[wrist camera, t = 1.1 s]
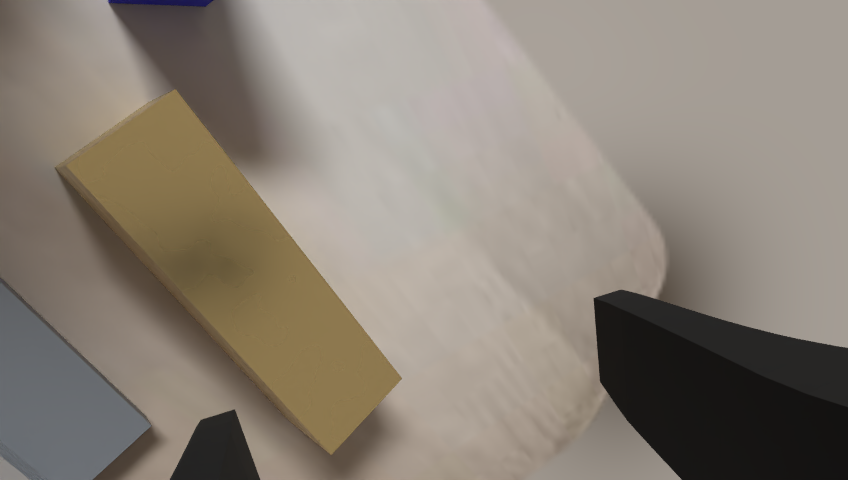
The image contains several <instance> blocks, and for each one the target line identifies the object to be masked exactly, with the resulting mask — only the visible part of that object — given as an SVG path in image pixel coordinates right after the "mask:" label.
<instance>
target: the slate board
mask: <svg viewBox="0 0 848 480" xmlns="http://www.w3.org/2000/svg"><path fill="white" fill-rule="evenodd" d="M151 426H152V425H151V424H150V422H149V421H148V419H147V417H146V416H145V415H144V414H143V413H142V412H141V411H140V410H139V409H138V408H137V407H136V406H135V405H134V404H132V403H131V402H130V401H129V400H128V399H127V398H126V397H125V396H124V395H123V394H122V393H121V392H120V391H119V390H118V389H117V388H116V387H115V386H114V385H113V384H111V383H110V382H109V381H108V380H107V379H106V378H105V377H104V376H103V375H102V374H101V373H100V372H99V371H98V370H97V369H96V368H95V367H94V366H93V365H92V364H91V363H89V362H88V361H87V360H86V359H85V358H84V357H83V356H82V355H81V354H80V353H79V352H78V351H77V350H76V349H75V348H74V347H73V346H72V345H71V344H70V343H68V342H67V341H66V340H65V339H64V338H63V337H62V336H61V335H60V334H59V333H58V332H57V331H56V330H55V329H54V328H53V327H52V326H51V325H50V324H49V323H48V322H46V321H45V320H44V319H43V318H42V317H41V316H40V315H39V314H38V313H37V312H36V311H35V310H34V309H33V308H32V307H31V306H30V305H29V304H28V303H27V302H25V301H24V300H23V299H22V298H21V297H20V296H19V295H18V294H17V293H16V292H15V291H14V290H13V289H12V288H11V287H10V286H9V285H8V284H7V283H6V282H5V281H3V280H2V279H1V278H0V441H1V442H2V443H3V444H4V445H6V446H7V447H8V448H9V449H10V450H12V451H13V452H14V453H15V454H16V455H18V456H19V457H20V458H21V459H23V460H24V461H25V462H26V463H27V464H29V465H30V466H31V467H32V468H34V469H35V470H36V471H37V472H38V473H40V474H41V475H42V476H43V477H44V478H46V479H47V480H93V479H94V478H95V477H96V476H97V475H98V474H99V473H100V472H101V471H103V470H104V469H105V468H106V467H107V466H108V465H109V464H110V463H111V462H112V461H113V460H115V459H116V458H117V457H118V456H119V455H120V454H121V453H122V452H123V451H124V450H125V449H127V448H128V447H129V446H130V445H131V444H132V443H133V442H134V441H135V440H136V439H138V438H139V437H140V436H141V435H142V434H143V433H144V432H145V431H146V430H147V429H148V428H150V427H151Z"/></svg>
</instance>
